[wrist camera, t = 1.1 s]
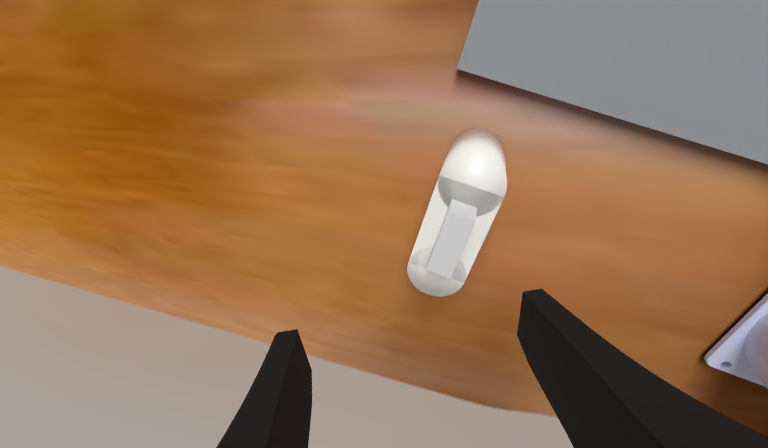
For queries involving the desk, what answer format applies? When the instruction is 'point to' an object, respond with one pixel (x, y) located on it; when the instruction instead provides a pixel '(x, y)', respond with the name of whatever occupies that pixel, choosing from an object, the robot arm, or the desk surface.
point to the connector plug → (459, 213)
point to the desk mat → (637, 62)
